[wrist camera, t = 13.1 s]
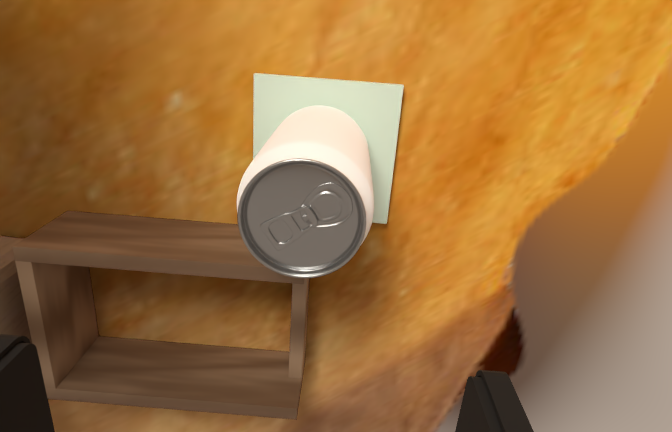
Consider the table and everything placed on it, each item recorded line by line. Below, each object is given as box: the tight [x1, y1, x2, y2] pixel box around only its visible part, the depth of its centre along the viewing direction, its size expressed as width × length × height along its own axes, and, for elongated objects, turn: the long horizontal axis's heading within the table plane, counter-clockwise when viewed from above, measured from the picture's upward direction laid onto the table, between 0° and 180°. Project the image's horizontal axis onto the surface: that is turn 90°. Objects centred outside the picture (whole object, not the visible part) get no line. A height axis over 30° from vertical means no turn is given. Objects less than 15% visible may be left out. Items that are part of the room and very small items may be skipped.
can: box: [237, 105, 374, 278], centre depth 26 cm, size 6×6×12 cm
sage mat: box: [253, 73, 404, 224], centre depth 32 cm, size 10×10×1 cm
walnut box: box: [12, 211, 310, 420], centre depth 34 cm, size 12×18×6 cm, turn 86°
